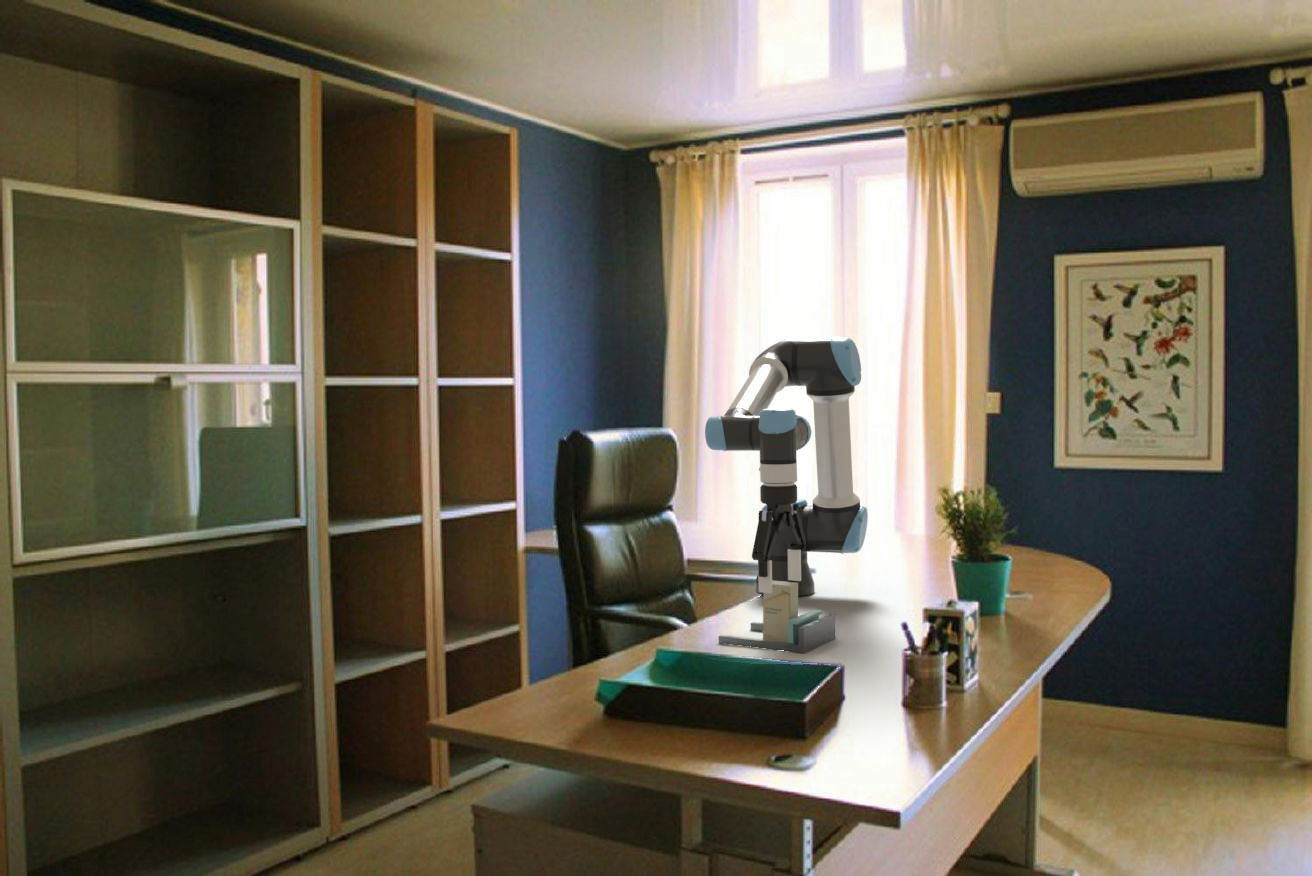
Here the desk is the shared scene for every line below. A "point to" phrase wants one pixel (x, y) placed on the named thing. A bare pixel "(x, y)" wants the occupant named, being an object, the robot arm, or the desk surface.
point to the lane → (807, 636)
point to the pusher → (801, 624)
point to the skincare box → (779, 610)
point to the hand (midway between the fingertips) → (780, 586)
